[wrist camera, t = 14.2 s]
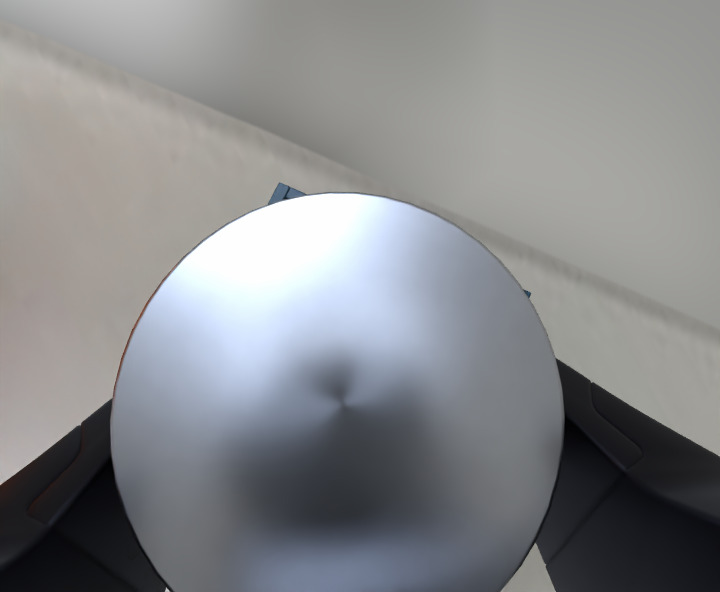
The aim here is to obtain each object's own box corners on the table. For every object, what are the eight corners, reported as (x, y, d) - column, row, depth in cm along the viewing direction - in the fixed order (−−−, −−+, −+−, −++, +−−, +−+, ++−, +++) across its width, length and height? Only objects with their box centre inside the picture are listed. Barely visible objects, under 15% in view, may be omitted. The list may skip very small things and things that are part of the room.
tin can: (429, 311, 16) (589, 231, 5) (405, 457, 15) (546, 721, 4) (292, 284, 16) (179, 150, 5) (258, 428, 15) (32, 619, 4)
